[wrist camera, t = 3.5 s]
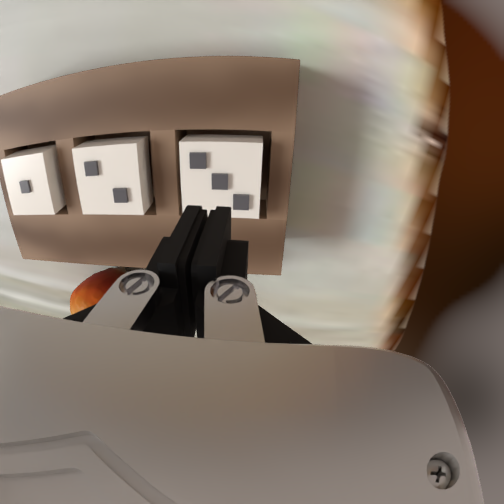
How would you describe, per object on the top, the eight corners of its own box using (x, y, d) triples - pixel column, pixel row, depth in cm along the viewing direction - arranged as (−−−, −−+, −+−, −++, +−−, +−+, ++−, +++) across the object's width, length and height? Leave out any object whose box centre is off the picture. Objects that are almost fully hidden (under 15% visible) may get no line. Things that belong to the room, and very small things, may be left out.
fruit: (183, 288, 27) (140, 367, 23) (156, 298, 33) (122, 359, 29) (109, 234, 24) (58, 313, 20) (98, 255, 30) (58, 317, 26)
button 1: (16, 151, 17) (-1, 160, 16) (58, 144, 17) (40, 153, 16) (27, 203, 20) (12, 216, 18) (68, 202, 20) (53, 215, 18)
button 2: (87, 140, 17) (70, 149, 16) (148, 135, 17) (135, 144, 16) (95, 201, 20) (81, 215, 18) (153, 201, 20) (142, 216, 18)
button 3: (187, 134, 17) (178, 142, 16) (262, 135, 17) (263, 143, 16) (189, 202, 20) (182, 217, 18) (259, 204, 20) (258, 220, 18)
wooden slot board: (26, 89, 18) (-12, 100, 14) (291, 63, 18) (299, 59, 14) (50, 230, 26) (22, 258, 22) (277, 238, 26) (280, 275, 22)
